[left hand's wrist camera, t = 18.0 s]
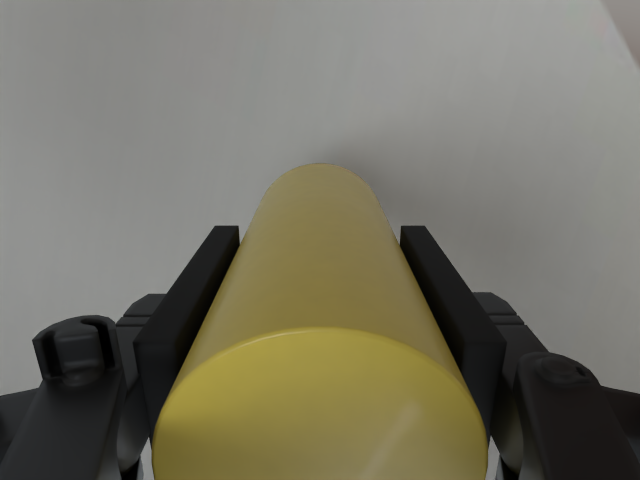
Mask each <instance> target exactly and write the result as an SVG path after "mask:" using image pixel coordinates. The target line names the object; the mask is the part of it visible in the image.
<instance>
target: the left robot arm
mask: <svg viewBox="0 0 640 480" xmlns="http://www.w3.org/2000/svg"><path fill="white" fill-rule="evenodd" d="M239 246H240V240H239V226H214V228H213V229H212V231H211V232H210V233H209V235H208V236H207V238H206V239H205V241H204V242H203V243H202V245H201V246H200V248H199V249H198V250H197V252H196V253H195V255H194V256H193V257H192V259H191V260H190V262H189V263H188V264H187V266H186V267H185V269H184V270H183V271H182V273H181V274H180V276H179V277H178V279H177V280H176V281H175V283H174V284H173V286H172V287H171V288H170V290H169V291H168V293H167V294H148V295H146V296H144V297H143V298H141V299H139V300H138V301H136V302H135V303H133V304H132V305H131V306H130V307H129V309H128V310H127V311H126V312H125V314H124V315H123V317H121V318H120V320H119V321H118V322H117V323H116V324H115V322H114V321H113V320H111V319H110V318H109V317H104V316H99V315H88V316H79V317H75V318H70V319H66V320H63V321H61V322H58V323H55V324H53V325H51V326H49V327H47V328H46V329H44V330H42V331H41V332H39V333H38V334H37V335H36V337H35V338H34V339H33V340H32V342H33V345H34V349H35V353H36V356H37V360H38V364H39V367H40V371H41V375H42V378H43V381H42V383H41V385H40V387H39V388H36V389H32V390H27V391H22V392H17V393H12V394H7V395H2V396H0V480H143V468H142V462H141V456H140V454H141V452H142V450H143V448H144V446H145V444H146V442H147V439H148V437H149V439H150V444H151V450H152V440H153V434H154V429H155V425H156V422H157V420H158V417H159V415H160V412H161V409H162V407H163V405H164V403H165V401H166V399H167V397H168V395H169V393H170V390H171V388H172V386H173V384H174V382H175V380H176V378H177V376H178V374H179V372H180V370H181V367H182V365H183V363H184V361H185V359H186V357H187V355H188V353H189V351H190V349H191V347H192V344H193V342H194V340H195V338H196V336H197V334H198V332H199V330H200V328H201V326H202V324H203V321H204V319H205V317H206V315H207V313H208V311H209V309H210V307H211V305H212V303H213V301H214V298H215V296H216V294H217V292H218V290H219V288H220V286H221V284H222V282H223V280H224V278H225V275H226V273H227V271H228V269H229V267H230V265H231V263H232V261H233V259H234V257H235V254H236V252H237V250H238V248H239ZM400 247H401V250H402V252H403V254H404V256H405V258H406V260H407V262H408V264H409V266H410V268H411V270H412V272H413V275H414V277H415V279H416V281H417V283H418V285H419V287H420V289H421V291H422V293H423V295H424V297H425V300H426V302H427V304H428V306H429V308H430V310H431V312H432V314H433V316H434V318H435V320H436V322H437V325H438V327H439V329H440V331H441V333H442V335H443V337H444V339H445V341H446V343H447V345H448V347H449V349H450V352H451V354H452V356H453V358H454V360H455V362H456V364H457V366H458V368H459V370H460V372H461V374H462V377H463V379H464V381H465V383H466V385H467V387H468V389H469V391H470V393H471V395H472V397H473V399H474V402H475V404H476V406H477V408H478V410H479V412H480V415H481V418H482V420H483V423H484V426H485V429H486V436H487V442H488V448H489V442H490V437H491V436H492V438H493V440H494V442H495V444H496V446H497V448H498V451H499V453H500V456H499V462H498V467H497V472H496V477H495V480H640V394H638V393H633V392H628V391H623V390H618V389H613V388H608V387H604V386H600V384H599V382H598V380H597V378H596V377H595V376H594V375H593V373H592V372H591V371H590V370H589V369H587V368H586V367H584V366H583V365H582V364H580V363H579V362H577V361H574V360H572V359H570V358H568V357H565V356H562V355H558V354H554V353H550V352H548V350H547V349H546V348H545V347H544V346H543V344H542V343H541V342H540V341H539V340H538V338H537V337H536V336H535V335H534V334H533V332H532V331H531V330H530V329H529V328H528V326H527V325H524V322H523V320H522V319H521V318H520V317H519V316H517V315H516V314H517V313H516V312H515V311H514V310H513V309H512V307H511V306H510V305H509V304H508V303H507V302H506V301H504V300H503V299H501V298H499V297H498V296H496V295H494V294H493V293H491V292H471V290H470V289H469V288H468V286H467V285H466V283H465V282H464V281H463V279H462V278H461V276H460V275H459V273H458V272H457V271H456V269H455V268H454V266H453V265H452V264H451V262H450V261H449V259H448V258H447V257H446V255H445V254H444V252H443V251H442V250H441V248H440V247H439V245H438V244H437V242H436V241H435V240H434V238H433V237H432V235H431V234H430V233H429V231H428V230H427V228H426V227H425V226H401V234H400Z"/></svg>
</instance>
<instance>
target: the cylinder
mask: <svg viewBox="0 0 640 480" xmlns="http://www.w3.org/2000/svg"><path fill="white" fill-rule="evenodd" d="M487 467H488V442H487V436H486V429H485V426H484V423H483V420H482V418H481V415H480V412H479V410H478V408H477V406H476V404H475V402H474V399H473V397H472V395H471V393H470V391H469V389H468V387H467V385H466V383H465V381H464V379H463V377H462V374H461V372H460V370H459V368H458V366H457V364H456V362H455V360H454V358H453V356H452V354H451V352H450V349H449V347H448V345H447V343H446V341H445V339H444V337H443V335H442V333H441V331H440V329H439V327H438V325H437V322H436V320H435V318H434V316H433V314H432V312H431V310H430V308H429V306H428V304H427V302H426V300H425V297H424V295H423V293H422V291H421V289H420V287H419V285H418V283H417V281H416V279H415V277H414V275H413V272H412V270H411V268H410V266H409V264H408V262H407V260H406V258H405V256H404V254H403V252H402V250H401V247H400V245H399V243H398V241H397V239H396V237H395V235H394V233H393V231H392V229H391V227H390V225H389V223H388V220H387V218H386V216H385V214H384V212H383V210H382V208H381V206H380V204H379V202H378V200H377V198H376V196H375V194H374V192H373V191H372V189H371V188H370V187H369V185H368V184H367V183H366V182H365V181H364V180H363V179H361V178H360V177H359V176H358V175H356V174H355V173H353V172H351V171H350V170H347V169H345V168H343V167H340V166H336V165H332V164H325V163H315V164H307V165H303V166H299V167H297V168H294V169H292V170H290V171H288V172H286V173H284V174H283V175H282V176H280V177H279V178H278V179H277V180H276V181H275V182H274V183H273V184H272V185H271V186H270V187H269V188H268V190H267V191H266V193H265V195H264V196H263V198H262V200H261V202H260V204H259V206H258V208H257V211H256V213H255V215H254V217H253V219H252V221H251V223H250V225H249V227H248V229H247V231H246V234H245V236H244V238H243V240H242V242H241V244H240V246H239V248H238V250H237V252H236V254H235V257H234V259H233V261H232V263H231V265H230V267H229V269H228V271H227V273H226V275H225V278H224V280H223V282H222V284H221V286H220V288H219V290H218V292H217V294H216V296H215V298H214V301H213V303H212V305H211V307H210V309H209V311H208V313H207V315H206V317H205V319H204V321H203V324H202V326H201V328H200V330H199V332H198V334H197V336H196V338H195V340H194V342H193V344H192V347H191V349H190V351H189V353H188V355H187V357H186V359H185V361H184V363H183V365H182V367H181V370H180V372H179V374H178V376H177V378H176V380H175V382H174V384H173V386H172V388H171V390H170V393H169V395H168V397H167V399H166V401H165V403H164V405H163V407H162V409H161V412H160V415H159V417H158V420H157V422H156V425H155V429H154V434H153V440H152V468H153V474H154V480H485V477H486V472H487Z"/></svg>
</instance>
